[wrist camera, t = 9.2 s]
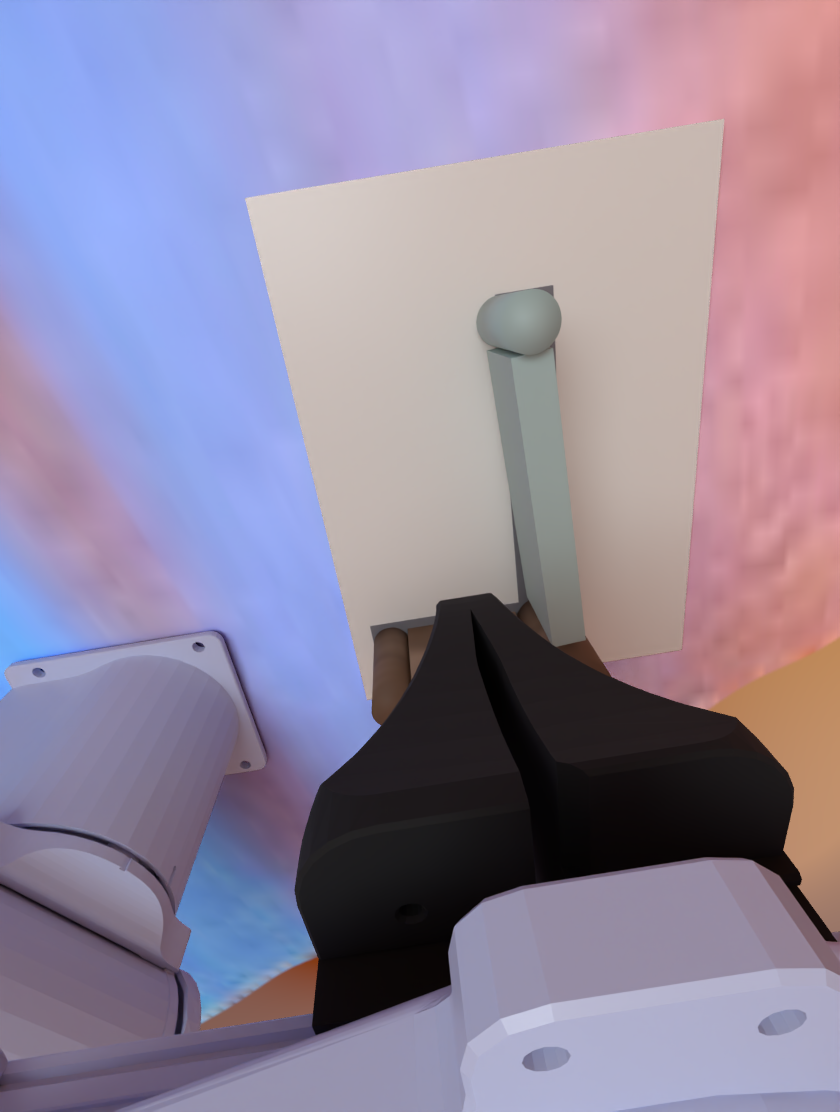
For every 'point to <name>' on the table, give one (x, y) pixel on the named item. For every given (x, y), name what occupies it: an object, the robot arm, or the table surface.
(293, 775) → the table surface
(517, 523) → the fence panel
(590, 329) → the card
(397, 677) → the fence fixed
